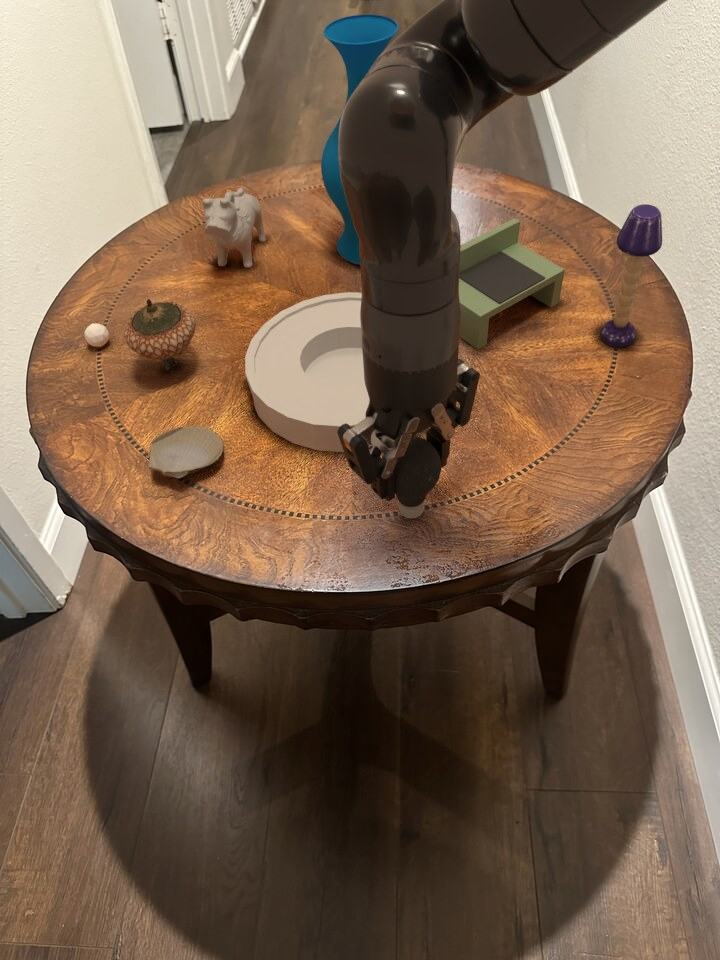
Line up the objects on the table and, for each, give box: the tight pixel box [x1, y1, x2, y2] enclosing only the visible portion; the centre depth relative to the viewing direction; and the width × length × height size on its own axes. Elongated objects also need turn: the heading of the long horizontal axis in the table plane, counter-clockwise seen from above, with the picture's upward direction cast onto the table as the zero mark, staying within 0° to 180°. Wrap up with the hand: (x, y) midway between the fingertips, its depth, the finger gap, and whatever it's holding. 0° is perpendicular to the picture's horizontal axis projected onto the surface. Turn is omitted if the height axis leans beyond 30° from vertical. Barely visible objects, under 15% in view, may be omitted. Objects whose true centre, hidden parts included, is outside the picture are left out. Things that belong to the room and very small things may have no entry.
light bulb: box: [381, 435, 443, 519], centre depth 70 cm, size 6×6×10 cm
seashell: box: [147, 425, 225, 479], centre depth 80 cm, size 8×3×8 cm
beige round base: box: [244, 291, 395, 453], centre depth 86 cm, size 23×23×4 cm
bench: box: [459, 217, 566, 351], centre depth 92 cm, size 14×9×8 cm, turn 127°
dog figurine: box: [202, 187, 267, 268], centre depth 102 cm, size 5×13×11 cm, turn 169°
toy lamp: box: [599, 203, 663, 348], centre depth 83 cm, size 5×5×17 cm
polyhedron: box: [83, 322, 110, 348], centre depth 93 cm, size 3×3×3 cm
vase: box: [320, 14, 400, 266], centre depth 94 cm, size 12×13×28 cm
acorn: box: [123, 298, 197, 370], centre depth 87 cm, size 8×8×10 cm
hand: (411, 477), depth 70 cm, fingers closed on light bulb, 5 cm apart
